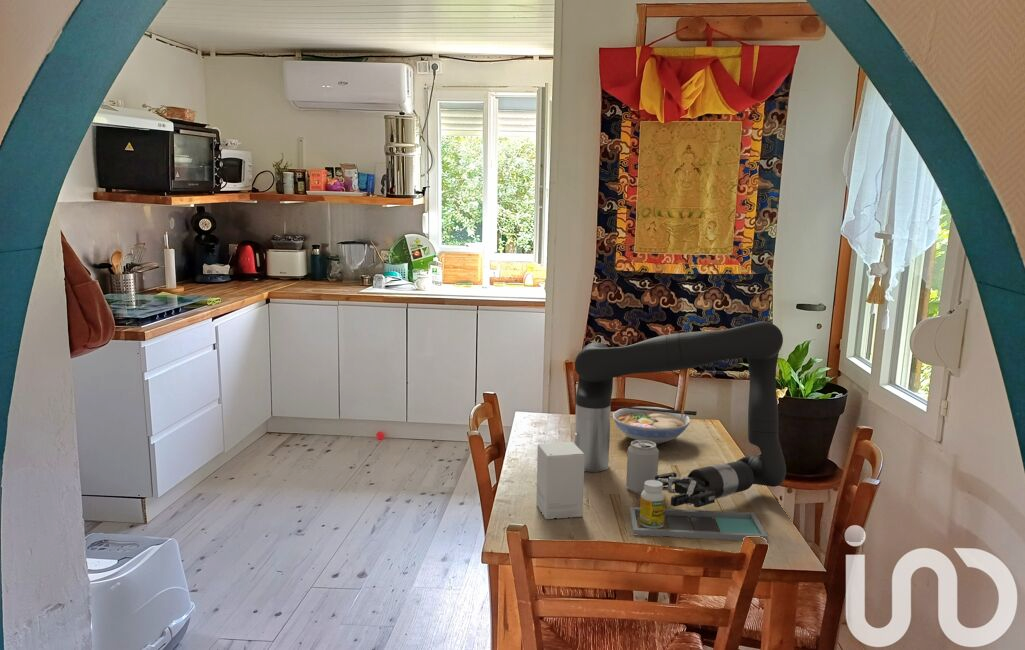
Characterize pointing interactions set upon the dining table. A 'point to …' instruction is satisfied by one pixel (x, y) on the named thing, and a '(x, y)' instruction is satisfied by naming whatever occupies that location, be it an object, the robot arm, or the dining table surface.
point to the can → (641, 464)
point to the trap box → (704, 524)
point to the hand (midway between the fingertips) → (659, 494)
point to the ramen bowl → (652, 423)
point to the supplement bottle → (652, 505)
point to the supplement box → (560, 480)
